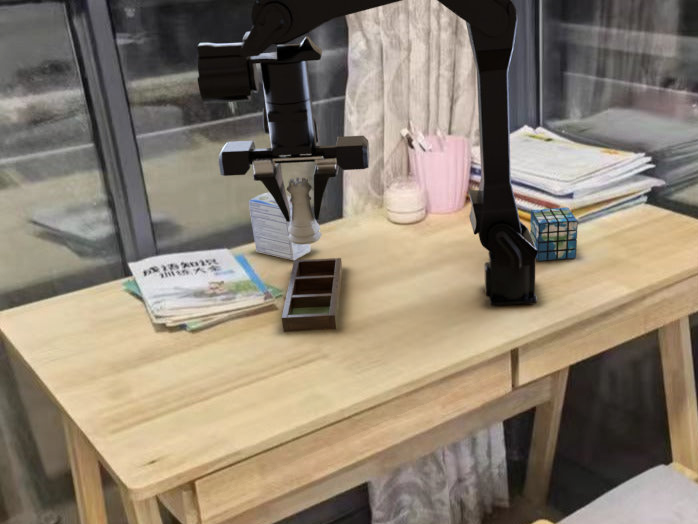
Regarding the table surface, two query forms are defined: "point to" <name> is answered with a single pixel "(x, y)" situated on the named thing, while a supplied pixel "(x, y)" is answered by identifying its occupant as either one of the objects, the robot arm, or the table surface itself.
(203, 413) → the table surface
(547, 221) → the puzzle
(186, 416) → the table surface
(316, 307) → the tray
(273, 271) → the table surface
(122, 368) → the table surface
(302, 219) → the rook chess piece
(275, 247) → the medicine box
